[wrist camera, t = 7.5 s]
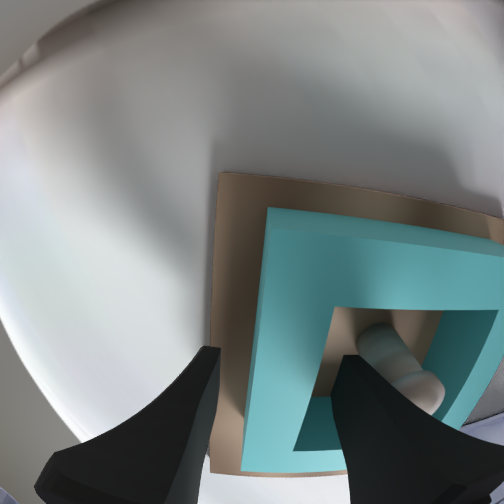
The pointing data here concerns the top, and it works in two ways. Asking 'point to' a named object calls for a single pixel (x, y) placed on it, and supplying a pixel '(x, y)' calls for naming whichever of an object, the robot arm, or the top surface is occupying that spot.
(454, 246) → the loop
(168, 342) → the top surface
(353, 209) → the peg board
